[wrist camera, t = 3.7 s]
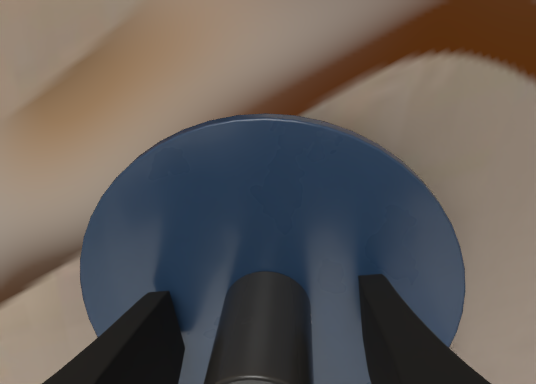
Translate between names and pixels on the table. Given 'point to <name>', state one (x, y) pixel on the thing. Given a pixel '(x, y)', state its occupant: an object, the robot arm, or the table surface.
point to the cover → (270, 247)
